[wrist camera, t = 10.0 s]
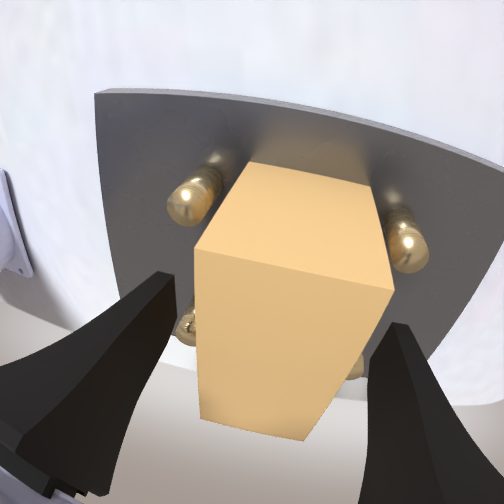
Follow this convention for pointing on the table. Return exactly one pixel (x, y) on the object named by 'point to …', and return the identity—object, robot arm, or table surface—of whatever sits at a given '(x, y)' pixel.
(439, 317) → the chassis plate
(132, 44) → the table surface
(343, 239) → the ochre block
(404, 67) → the table surface
